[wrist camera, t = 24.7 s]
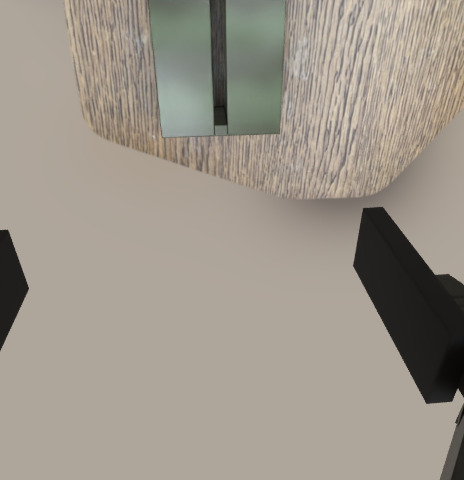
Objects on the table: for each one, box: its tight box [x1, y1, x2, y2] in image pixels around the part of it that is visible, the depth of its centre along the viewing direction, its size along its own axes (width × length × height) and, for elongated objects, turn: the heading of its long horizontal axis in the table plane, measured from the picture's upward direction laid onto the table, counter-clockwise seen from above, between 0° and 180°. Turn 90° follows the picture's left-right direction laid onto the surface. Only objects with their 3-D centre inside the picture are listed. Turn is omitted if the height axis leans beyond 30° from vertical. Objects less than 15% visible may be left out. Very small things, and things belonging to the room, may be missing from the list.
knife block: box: [148, 0, 286, 138], centre depth 39 cm, size 12×11×6 cm
